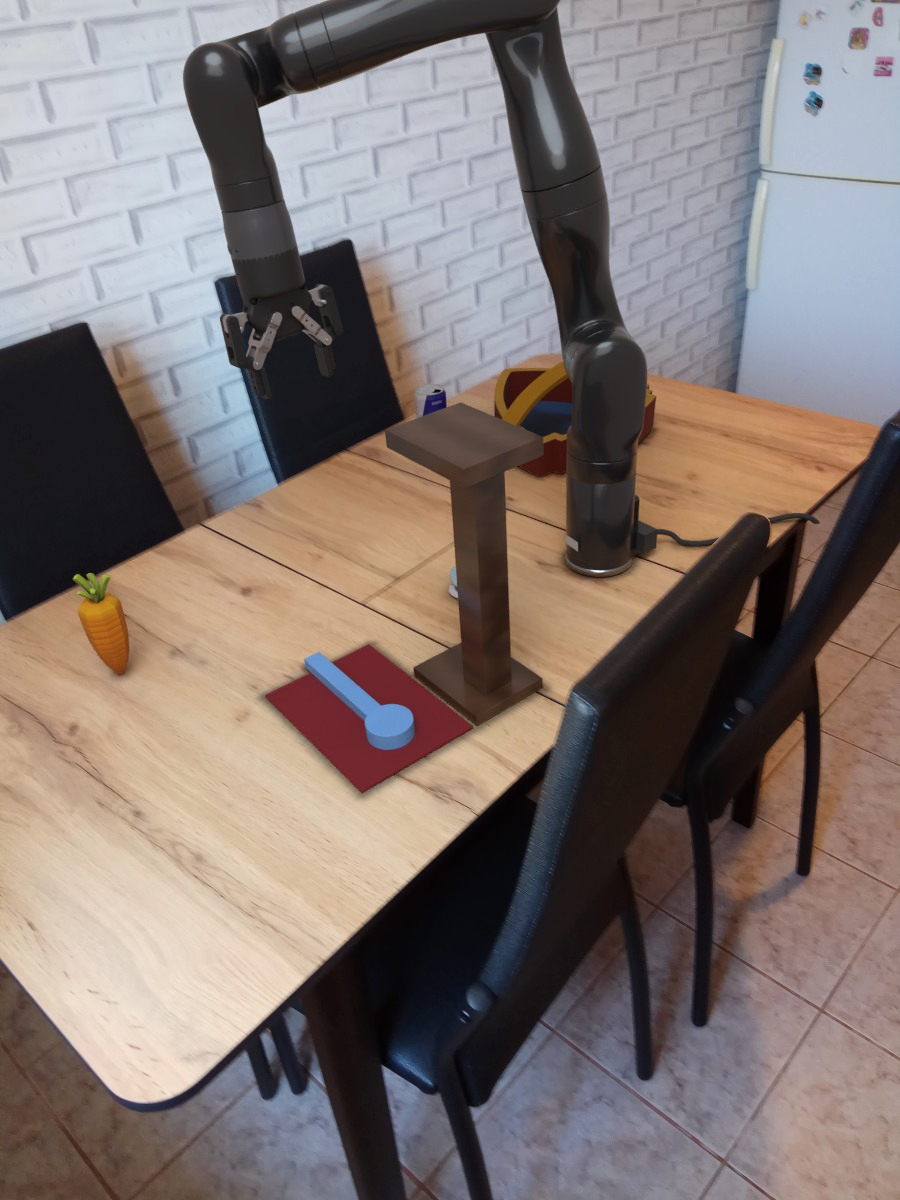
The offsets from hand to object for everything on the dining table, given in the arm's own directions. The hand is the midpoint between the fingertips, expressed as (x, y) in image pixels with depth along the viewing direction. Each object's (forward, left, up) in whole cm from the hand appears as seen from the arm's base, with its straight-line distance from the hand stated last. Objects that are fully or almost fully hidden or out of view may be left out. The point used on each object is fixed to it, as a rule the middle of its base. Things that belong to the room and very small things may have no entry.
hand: (297, 386), depth 113 cm
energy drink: (-37, -25, -30) cm, 54 cm away
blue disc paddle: (+11, +23, -30) cm, 39 cm away
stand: (-2, +29, -30) cm, 42 cm away
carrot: (+30, -2, -30) cm, 42 cm away
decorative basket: (-58, -14, -30) cm, 67 cm away
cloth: (+11, +25, -30) cm, 40 cm away
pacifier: (-14, +14, -30) cm, 36 cm away
